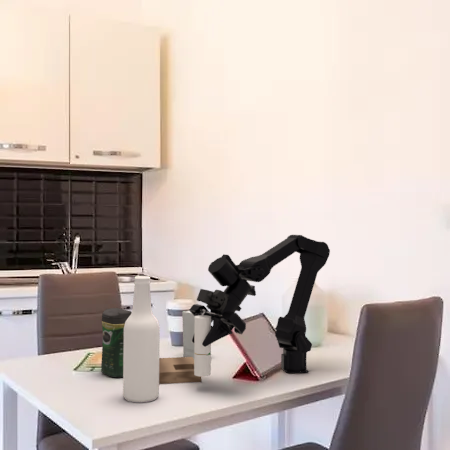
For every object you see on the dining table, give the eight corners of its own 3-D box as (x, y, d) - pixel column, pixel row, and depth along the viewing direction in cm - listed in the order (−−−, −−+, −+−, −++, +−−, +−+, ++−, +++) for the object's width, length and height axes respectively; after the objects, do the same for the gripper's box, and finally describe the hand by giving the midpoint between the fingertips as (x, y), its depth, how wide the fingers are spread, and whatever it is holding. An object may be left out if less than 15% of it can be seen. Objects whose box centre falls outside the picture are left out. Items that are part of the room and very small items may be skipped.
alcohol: (128, 404, 139) (129, 278, 139) (119, 394, 147) (120, 275, 147) (163, 400, 143) (164, 277, 142) (153, 390, 151) (154, 274, 150)
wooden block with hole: (192, 366, 175) (192, 356, 175) (201, 381, 159) (201, 370, 159) (145, 368, 172) (145, 358, 172) (149, 384, 156) (149, 373, 156)
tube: (198, 377, 149) (198, 318, 149) (191, 373, 153) (191, 316, 153) (213, 375, 151) (213, 317, 151) (206, 371, 155) (206, 314, 155)
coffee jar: (138, 375, 165) (139, 309, 165) (113, 380, 160) (114, 312, 160) (121, 368, 173) (121, 305, 172) (96, 372, 168) (97, 307, 167)
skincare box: (211, 359, 185) (211, 312, 184) (194, 361, 181) (195, 313, 181) (197, 353, 192) (198, 308, 191) (181, 356, 188) (181, 310, 188)
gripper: (195, 274, 162) (160, 318, 155) (237, 281, 147) (200, 330, 140) (218, 300, 167) (185, 344, 160) (260, 309, 152) (226, 358, 145)
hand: (198, 343), depth 151 cm, fingers closed on tube, 4 cm apart
